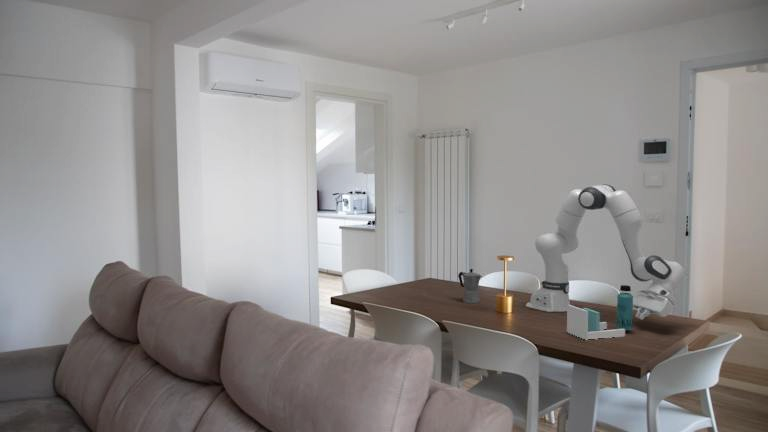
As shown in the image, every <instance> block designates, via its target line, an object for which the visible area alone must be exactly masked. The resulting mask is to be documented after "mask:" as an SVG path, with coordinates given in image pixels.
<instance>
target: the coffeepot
mask: <svg viewBox="0 0 768 432" xmlns="http://www.w3.org/2000/svg"><path fill="white" fill-rule="evenodd" d="M473 270H474V269H473V268H471V269H469V272H463V271H460V272H459V273H458V274H457V277H458V280H459V285H460V287H462V288H465V289H464V292H463V298H462V302H463V303H464V304H465V303H466V304H478V303H480V301H481V300H480V293H479V290H478V289H479V288H478V287H479V285H480V280H481V278H482V275H481V274H480V273H476V272H474V271H473Z"/></svg>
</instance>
